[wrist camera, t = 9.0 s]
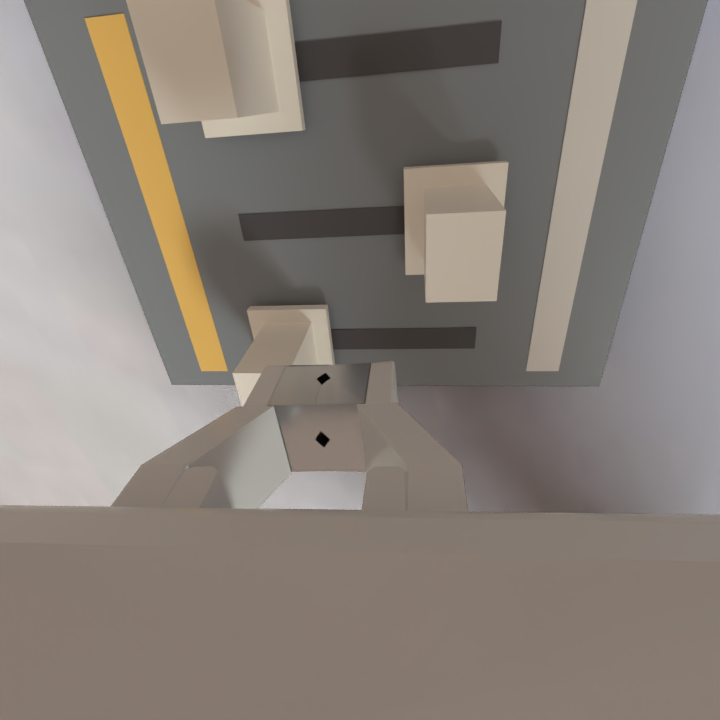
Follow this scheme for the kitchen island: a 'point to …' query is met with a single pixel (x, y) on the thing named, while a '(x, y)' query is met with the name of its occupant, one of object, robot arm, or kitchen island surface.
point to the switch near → (221, 64)
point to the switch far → (284, 341)
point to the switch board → (390, 178)
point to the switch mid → (455, 228)
